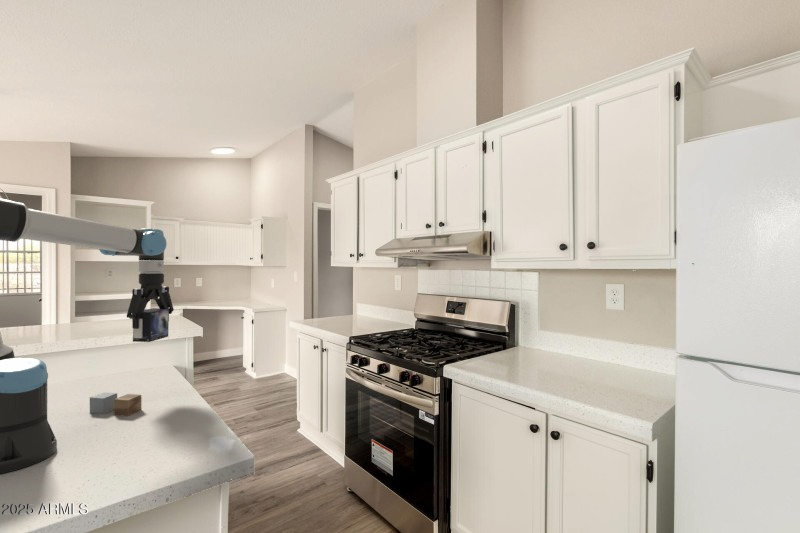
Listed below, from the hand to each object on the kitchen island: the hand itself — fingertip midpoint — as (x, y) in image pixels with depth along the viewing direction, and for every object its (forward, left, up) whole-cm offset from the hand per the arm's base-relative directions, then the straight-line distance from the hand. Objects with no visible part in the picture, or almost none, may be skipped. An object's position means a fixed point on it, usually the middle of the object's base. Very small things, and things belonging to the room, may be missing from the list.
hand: (151, 334), depth 138 cm
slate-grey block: (-14, +5, -22) cm, 27 cm away
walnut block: (-14, -4, -22) cm, 26 cm away
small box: (0, 0, -2) cm, 2 cm away
